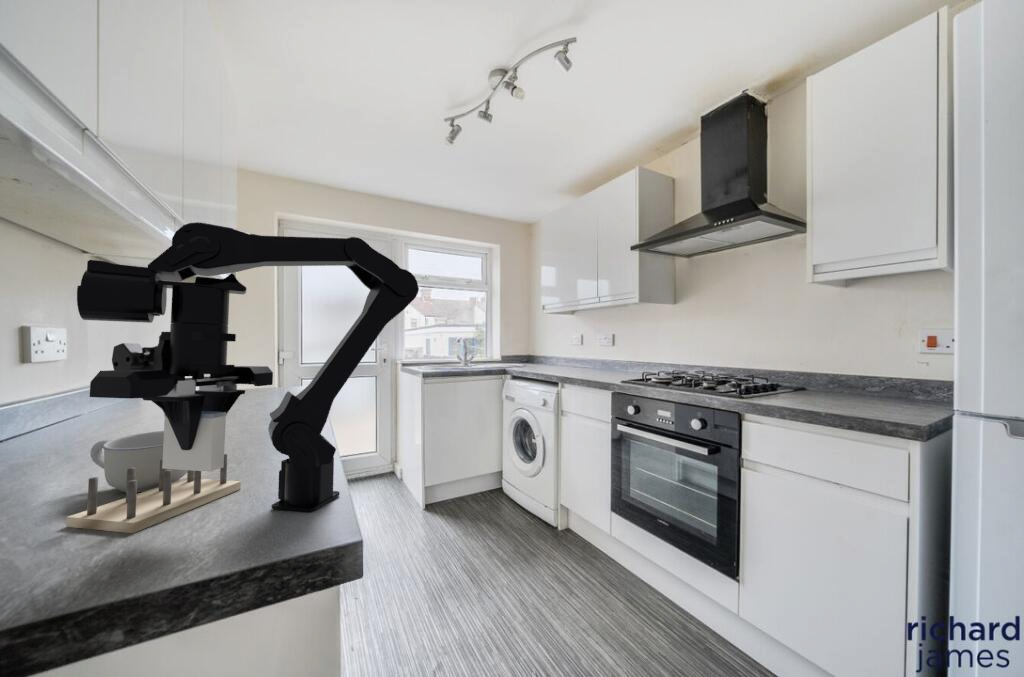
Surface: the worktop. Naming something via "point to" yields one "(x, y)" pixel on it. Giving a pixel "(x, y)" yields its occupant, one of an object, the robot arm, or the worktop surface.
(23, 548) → the worktop surface
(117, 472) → the teacup
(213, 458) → the white square block
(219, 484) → the dish rack
